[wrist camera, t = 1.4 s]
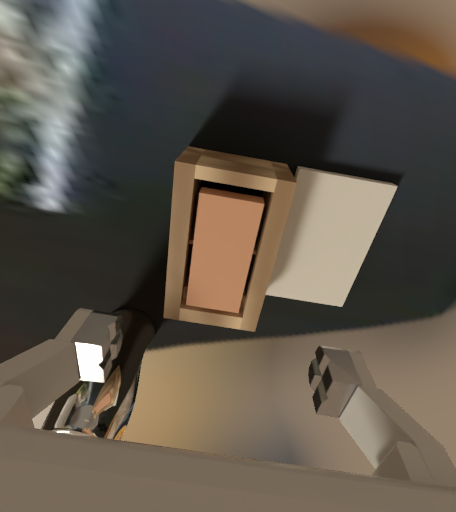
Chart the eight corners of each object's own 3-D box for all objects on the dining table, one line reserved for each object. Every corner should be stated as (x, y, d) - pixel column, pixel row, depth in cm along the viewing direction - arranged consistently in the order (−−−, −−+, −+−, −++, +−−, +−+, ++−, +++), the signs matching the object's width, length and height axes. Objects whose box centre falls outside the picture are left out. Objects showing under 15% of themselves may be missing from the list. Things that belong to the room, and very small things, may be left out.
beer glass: (100, 337, 39) (29, 463, 26) (108, 298, 36) (31, 420, 23) (152, 352, 40) (108, 481, 27) (165, 315, 37) (122, 442, 24)
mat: (263, 288, 34) (263, 294, 33) (297, 166, 27) (299, 168, 26) (339, 301, 34) (342, 306, 33) (392, 183, 27) (397, 186, 26)
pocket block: (175, 282, 34) (163, 317, 29) (188, 146, 26) (175, 161, 21) (252, 294, 34) (254, 331, 29) (286, 164, 27) (297, 182, 22)
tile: (190, 287, 30) (185, 305, 28) (203, 182, 25) (199, 192, 22) (238, 295, 30) (238, 313, 28) (262, 192, 25) (264, 203, 23)
